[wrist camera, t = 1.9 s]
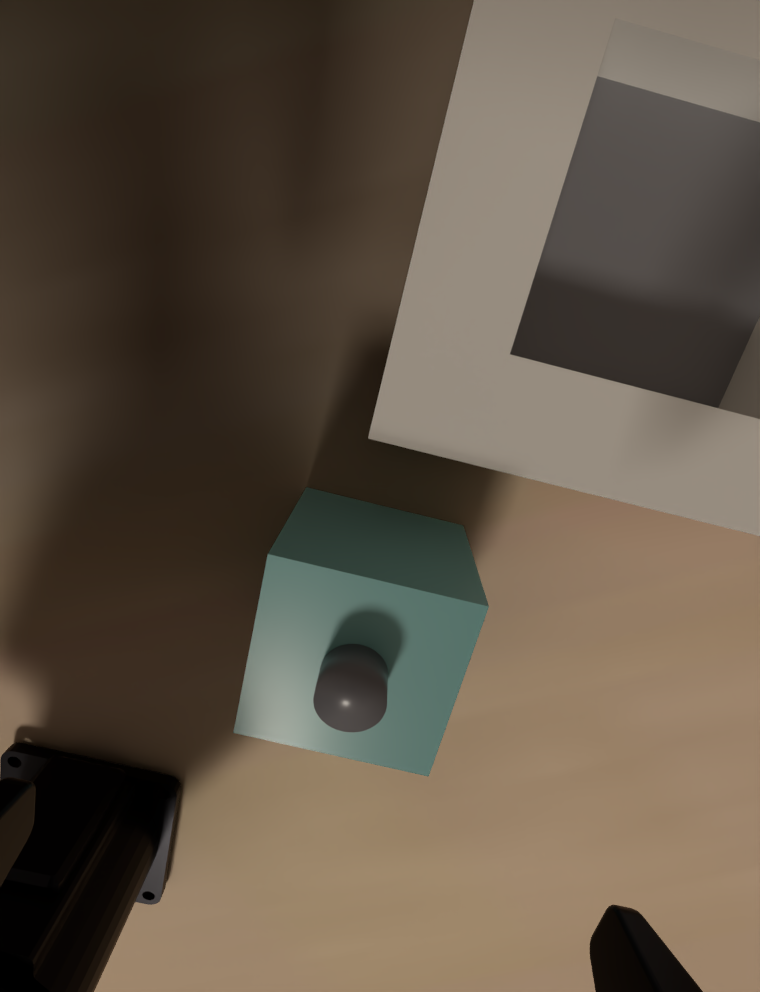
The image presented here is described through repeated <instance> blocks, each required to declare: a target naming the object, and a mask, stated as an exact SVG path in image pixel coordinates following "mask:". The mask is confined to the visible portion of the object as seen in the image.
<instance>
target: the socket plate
mask: <svg viewBox="0 0 760 992" xmlns="http://www.w3.org/2000/svg"><path fill="white" fill-rule="evenodd" d="M368 439H372V440H376V441H380V442H384V443H388V444H392V445H396V446H400V447H404V448H408V449H412V450H416V451H420V452H424V453H428V454H432V455H436V456H440V457H444V458H448V459H452V460H456V461H460V462H464V463H468V464H472V465H476V466H480V467H484V468H488V469H492V470H496V471H500V472H504V473H508V474H512V475H517V476H521V477H525V478H529V479H533V480H537V481H541V482H545V483H549V484H553V485H557V486H561V487H565V488H569V489H573V490H577V491H581V492H585V493H589V494H593V495H597V496H601V497H605V498H609V499H613V500H617V501H621V502H625V503H629V504H633V505H637V506H641V507H645V508H649V509H653V510H657V511H661V512H665V513H669V514H673V515H677V516H681V517H685V518H689V519H693V520H697V521H701V522H705V523H709V524H713V525H717V526H721V527H725V528H729V529H733V530H737V531H741V532H745V533H749V534H754V535H758V536H760V0H474V3H473V7H472V11H471V15H470V19H469V23H468V27H467V31H466V36H465V40H464V44H463V48H462V52H461V56H460V60H459V65H458V69H457V73H456V77H455V81H454V85H453V89H452V93H451V98H450V102H449V106H448V110H447V114H446V118H445V122H444V126H443V131H442V135H441V139H440V143H439V147H438V151H437V155H436V159H435V164H434V168H433V172H432V176H431V180H430V184H429V188H428V192H427V197H426V201H425V205H424V209H423V213H422V217H421V221H420V225H419V230H418V234H417V238H416V242H415V246H414V250H413V254H412V259H411V263H410V267H409V271H408V275H407V279H406V283H405V287H404V292H403V296H402V300H401V304H400V308H399V312H398V316H397V320H396V325H395V329H394V333H393V337H392V341H391V345H390V349H389V353H388V358H387V362H386V366H385V370H384V374H383V378H382V382H381V386H380V391H379V395H378V399H377V403H376V407H375V411H374V415H373V419H372V424H371V428H370V432H369V436H368Z"/></svg>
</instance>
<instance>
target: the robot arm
mask: <svg viewBox="0 0 760 992" xmlns="http://www.w3.org/2000/svg"><path fill="white" fill-rule="evenodd" d="M180 792H181V784H180V782H179V780H178V779H176V778H175V777H173V776H171V775H167V774H162V773H157V772H153V771H148V770H144V769H139V768H134V767H130V766H125V765H121V764H116V763H111V762H107V761H102V760H98V759H93V758H88V757H84V756H79V755H75V754H70V753H65V752H61V751H56V750H51V749H47V748H42V747H38V746H33V745H28V744H24V743H15V744H12V745H11V746H10V747H9V748H8V749H7V750H6V751H5V752H4V754H3V755H2V756H1V772H0V992H94V990H95V988H96V986H97V984H98V982H99V980H100V977H101V975H102V973H103V971H104V969H105V966H106V964H107V962H108V960H109V958H110V955H111V953H112V951H113V949H114V947H115V945H116V942H117V940H118V938H119V936H120V934H121V931H122V929H123V927H124V925H125V923H126V921H127V918H128V916H129V914H130V912H131V910H132V907H133V905H134V903H135V902H139V903H144V904H156V903H158V902H159V901H160V899H161V897H162V894H163V892H164V889H165V885H166V879H167V873H168V867H169V860H170V854H171V848H172V842H173V835H174V829H175V823H176V817H177V811H178V804H179V798H180ZM590 959H591V965H592V972H593V978H594V984H595V990H596V992H703V991H702V990H701V989H700V987H699V986H698V985H697V984H696V982H695V981H694V980H693V979H692V977H691V976H690V975H689V974H688V972H687V971H686V970H685V969H684V967H683V966H682V965H681V964H680V962H679V961H678V960H677V959H676V957H675V956H674V955H673V954H672V952H671V951H670V950H669V948H668V947H667V946H666V945H665V943H664V942H663V941H662V940H661V938H660V937H659V936H658V935H657V933H656V932H655V931H654V930H653V928H652V927H651V926H650V925H649V923H648V922H647V921H646V920H645V918H644V917H643V916H642V915H641V914H640V913H639V912H638V911H636V910H634V909H632V908H627V907H623V906H618V905H611V906H609V907H608V908H607V909H606V911H605V913H604V915H603V917H602V918H601V920H600V922H599V924H598V926H597V928H596V929H595V931H594V933H593V935H592V937H591V941H590Z"/></svg>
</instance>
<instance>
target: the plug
mask: <svg viewBox="0 0 760 992" xmlns="http://www.w3.org/2000/svg"><path fill="white" fill-rule="evenodd" d="M488 607H489V606H488V602H487V599H486V596H485V593H484V590H483V587H482V583H481V580H480V577H479V574H478V571H477V568H476V564H475V561H474V558H473V555H472V552H471V549H470V545H469V542H468V539H467V536H466V533H465V530H464V526H463V525H460V524H455V523H451V522H447V521H443V520H439V519H435V518H431V517H427V516H423V515H419V514H414V513H410V512H406V511H402V510H398V509H394V508H390V507H386V506H382V505H377V504H373V503H369V502H365V501H361V500H357V499H353V498H349V497H345V496H340V495H336V494H332V493H328V492H324V491H320V490H316V489H312V488H308V487H306V489H305V490H304V492H303V494H302V496H301V497H300V499H299V501H298V503H297V504H296V506H295V508H294V509H293V511H292V513H291V515H290V516H289V518H288V520H287V522H286V523H285V525H284V527H283V529H282V530H281V532H280V534H279V536H278V537H277V539H276V541H275V542H274V544H273V546H272V548H271V549H270V551H269V553H268V556H267V561H266V566H265V571H264V576H263V582H262V587H261V592H260V597H259V602H258V607H257V613H256V618H255V623H254V628H253V633H252V638H251V644H250V649H249V654H248V659H247V664H246V669H245V675H244V680H243V685H242V690H241V695H240V700H239V706H238V711H237V716H236V721H235V726H234V731H233V733H236V734H241V735H245V736H250V737H254V738H258V739H263V740H267V741H272V742H276V743H281V744H285V745H290V746H294V747H299V748H303V749H308V750H312V751H317V752H321V753H326V754H330V755H335V756H339V757H344V758H348V759H353V760H357V761H362V762H366V763H371V764H375V765H380V766H384V767H389V768H393V769H398V770H402V771H406V772H411V773H415V774H420V775H424V776H429V774H430V771H431V768H432V765H433V762H434V760H435V757H436V754H437V751H438V748H439V745H440V743H441V740H442V737H443V734H444V731H445V729H446V726H447V723H448V720H449V717H450V715H451V712H452V709H453V706H454V703H455V700H456V698H457V695H458V692H459V689H460V686H461V684H462V681H463V678H464V675H465V672H466V669H467V667H468V664H469V661H470V658H471V655H472V653H473V650H474V647H475V644H476V641H477V638H478V636H479V633H480V630H481V627H482V624H483V622H484V619H485V616H486V613H487V610H488Z"/></svg>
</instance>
